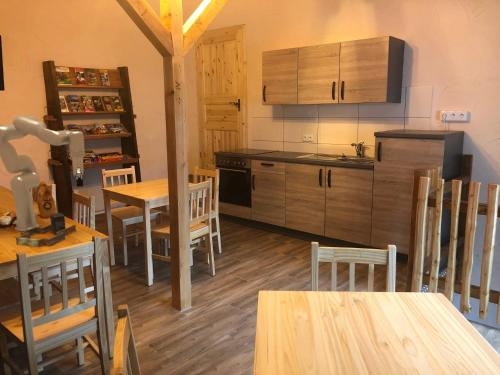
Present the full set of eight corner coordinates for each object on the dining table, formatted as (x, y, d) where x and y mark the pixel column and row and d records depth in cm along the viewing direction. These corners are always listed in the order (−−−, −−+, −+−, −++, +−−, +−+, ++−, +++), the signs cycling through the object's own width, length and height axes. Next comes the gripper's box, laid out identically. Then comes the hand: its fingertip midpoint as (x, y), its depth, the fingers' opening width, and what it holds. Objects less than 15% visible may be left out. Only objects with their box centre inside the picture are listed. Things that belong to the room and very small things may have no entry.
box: (66, 233, 236) (64, 215, 234) (55, 235, 233) (53, 217, 230) (62, 230, 242) (60, 212, 240) (51, 232, 239) (49, 214, 236)
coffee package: (40, 219, 264) (36, 184, 259) (38, 214, 274) (34, 181, 270) (57, 216, 269) (53, 183, 264) (55, 212, 279) (51, 179, 275)
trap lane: (9, 243, 220) (8, 237, 219) (48, 228, 245) (47, 222, 245) (46, 247, 213) (45, 241, 213) (82, 231, 239) (81, 225, 238)
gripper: (70, 152, 236) (72, 182, 240) (69, 156, 220) (72, 188, 224) (84, 151, 239) (87, 181, 242) (85, 155, 223) (87, 187, 227)
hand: (80, 184), depth 233 cm, fingers open, 9 cm apart
